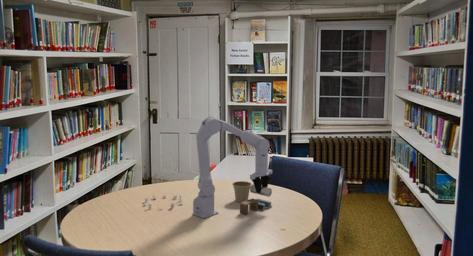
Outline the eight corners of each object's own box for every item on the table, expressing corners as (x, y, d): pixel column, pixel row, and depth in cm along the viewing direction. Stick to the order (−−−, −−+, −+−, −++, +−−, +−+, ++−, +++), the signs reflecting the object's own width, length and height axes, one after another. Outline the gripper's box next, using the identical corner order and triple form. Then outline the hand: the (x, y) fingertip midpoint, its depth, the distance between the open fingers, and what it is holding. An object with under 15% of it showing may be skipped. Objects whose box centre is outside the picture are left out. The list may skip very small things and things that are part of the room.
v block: (262, 210, 203) (262, 205, 203) (249, 206, 208) (249, 201, 208) (271, 206, 208) (271, 201, 208) (258, 203, 213) (258, 198, 213)
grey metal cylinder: (271, 195, 203) (271, 187, 202) (266, 197, 200) (266, 189, 199) (255, 191, 210) (255, 183, 209) (249, 193, 207) (249, 185, 206)
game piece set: (188, 208, 208) (187, 200, 207) (146, 213, 200) (145, 205, 200) (178, 196, 226) (177, 189, 225) (139, 200, 218) (138, 193, 218)
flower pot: (251, 203, 213) (251, 186, 212) (232, 203, 213) (232, 186, 212) (251, 197, 222) (251, 181, 221) (232, 197, 223) (232, 181, 221)
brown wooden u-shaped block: (245, 215, 197) (245, 204, 196) (239, 213, 199) (239, 203, 198) (258, 210, 204) (258, 199, 203) (252, 208, 206) (252, 198, 205)
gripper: (258, 167, 194) (258, 196, 196) (277, 161, 205) (277, 189, 207) (246, 164, 199) (246, 193, 201) (265, 159, 210) (265, 186, 212)
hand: (261, 191), depth 204 cm, fingers closed on grey metal cylinder, 4 cm apart
